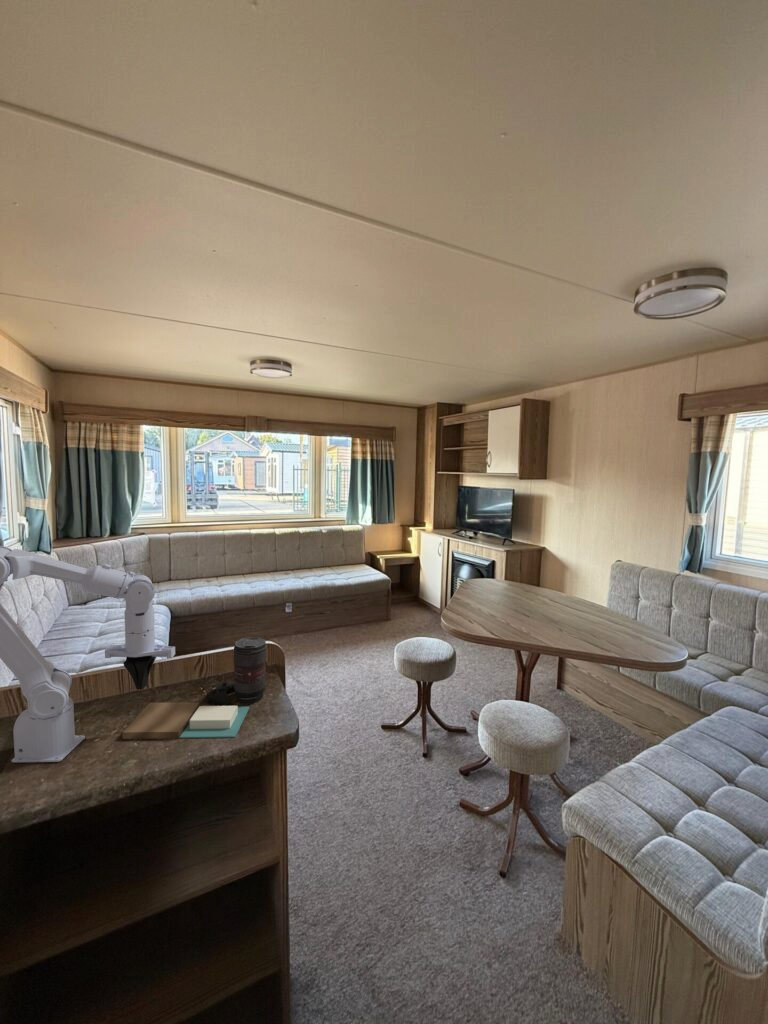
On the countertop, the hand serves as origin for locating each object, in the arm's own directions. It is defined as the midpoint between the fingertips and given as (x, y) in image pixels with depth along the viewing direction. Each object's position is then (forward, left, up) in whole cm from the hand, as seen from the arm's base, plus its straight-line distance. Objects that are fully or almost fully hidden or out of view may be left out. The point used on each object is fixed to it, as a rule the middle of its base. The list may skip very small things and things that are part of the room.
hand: (141, 687), depth 96 cm
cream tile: (+16, +1, -8) cm, 18 cm away
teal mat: (+16, +2, -9) cm, 19 cm away
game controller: (+14, +13, -10) cm, 21 cm away
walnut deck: (+4, +2, -9) cm, 10 cm away
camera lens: (+21, +12, -10) cm, 26 cm away
